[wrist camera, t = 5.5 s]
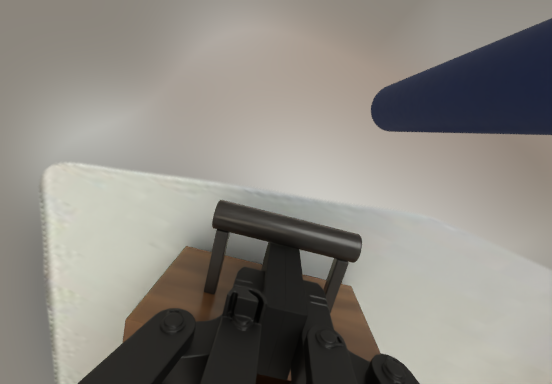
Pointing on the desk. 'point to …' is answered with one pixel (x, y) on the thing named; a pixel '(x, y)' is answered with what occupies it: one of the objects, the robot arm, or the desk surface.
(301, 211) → the desk surface
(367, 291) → the desk surface
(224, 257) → the drawer
